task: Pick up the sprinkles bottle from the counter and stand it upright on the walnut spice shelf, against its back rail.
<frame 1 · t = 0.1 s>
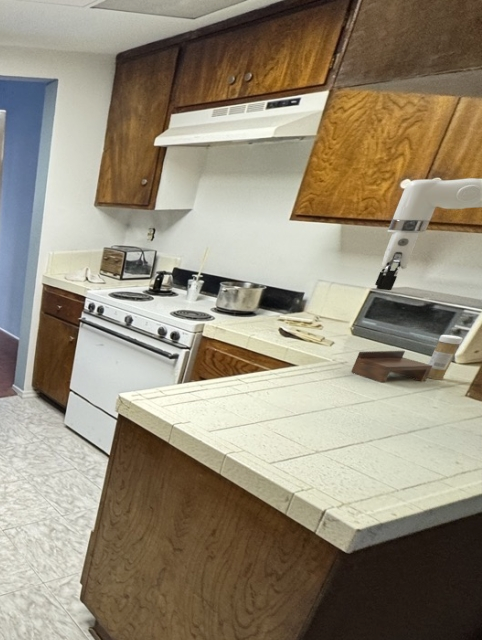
hand: (382, 287, 139), 27 cm above the counter, tool pointing down, fingers open, 9 cm apart
sprinkles bottle: (431, 378, 147), on the counter
spice shelf: (387, 376, 147), on the counter
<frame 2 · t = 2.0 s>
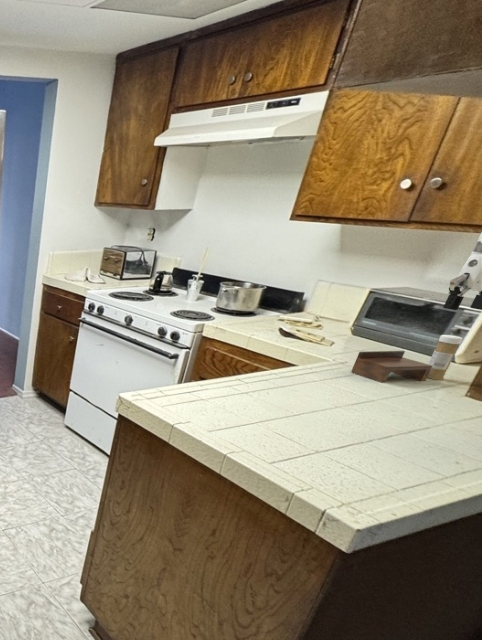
hand: (463, 309, 139), 22 cm above the counter, tool pointing down, fingers open, 9 cm apart
nothing on the counter moved.
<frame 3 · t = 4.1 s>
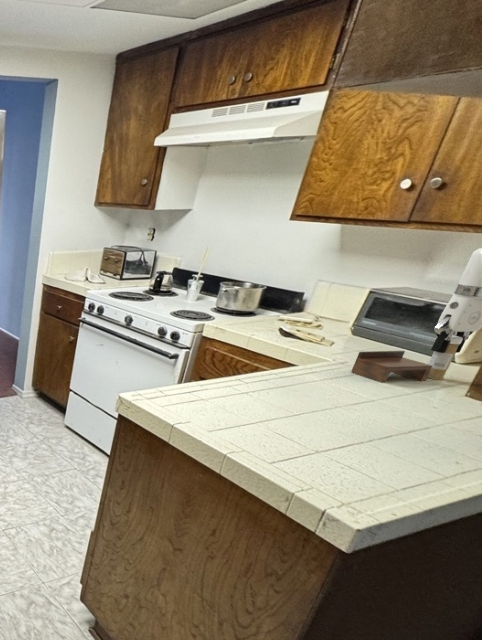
hand: (445, 350, 144), 9 cm above the counter, tool pointing down, fingers closed on sprinkles bottle, 4 cm apart
sprinkles bottle: (431, 378, 147), on the counter, touching gripper
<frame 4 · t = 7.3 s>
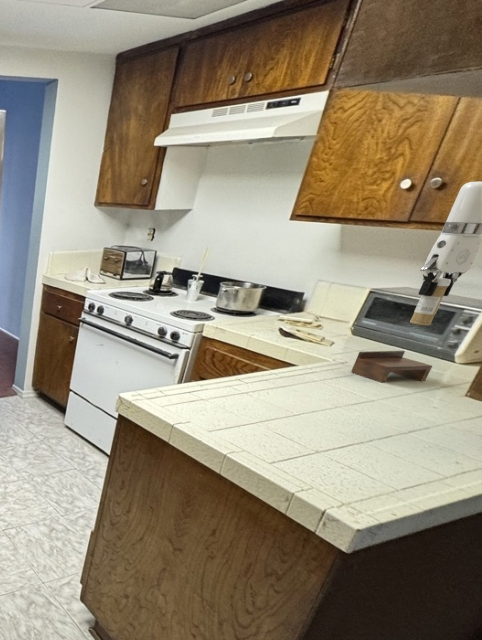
hand: (432, 294, 137), 26 cm above the counter, tool pointing down, fingers closed on sprinkles bottle, 4 cm apart
sprinkles bottle: (419, 324, 141), point 17 cm above the counter, touching gripper
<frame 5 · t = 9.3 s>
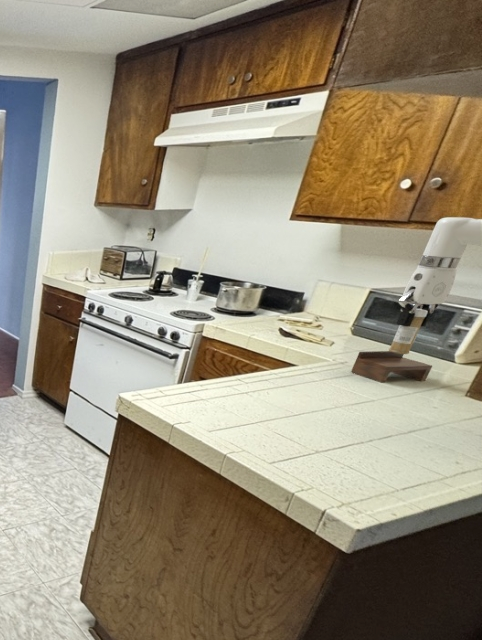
hand: (410, 324, 141), 17 cm above the counter, tool pointing down, fingers closed on sprinkles bottle, 4 cm apart
sprinkles bottle: (397, 353, 144), point 8 cm above the counter, touching gripper
when the fingers open (14 cm above the counter, at t = 10.5 s): sprinkles bottle stays where it is, resting on spice shelf.
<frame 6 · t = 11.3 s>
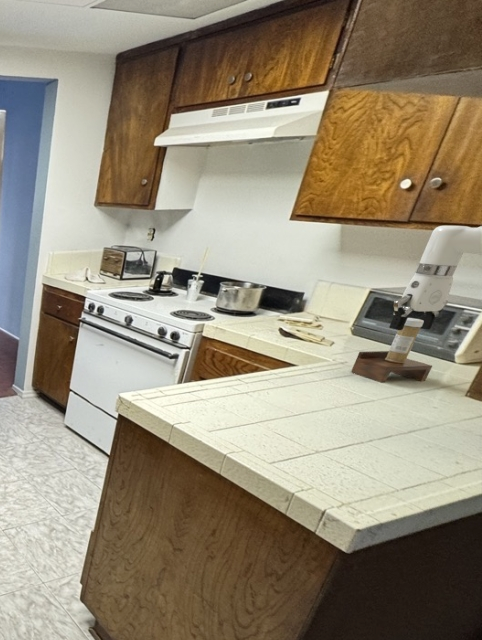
hand: (409, 328, 141), 15 cm above the counter, tool pointing down, fingers open, 9 cm apart
sprinkles bottle: (394, 362, 145), point 5 cm above the counter, touching spice shelf
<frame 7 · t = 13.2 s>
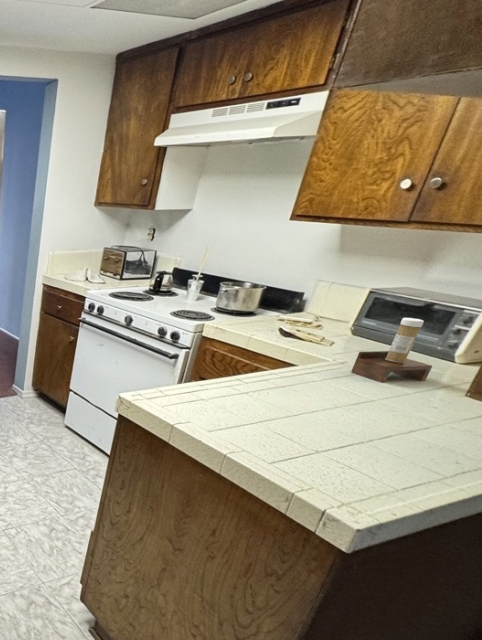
nothing on the counter moved.
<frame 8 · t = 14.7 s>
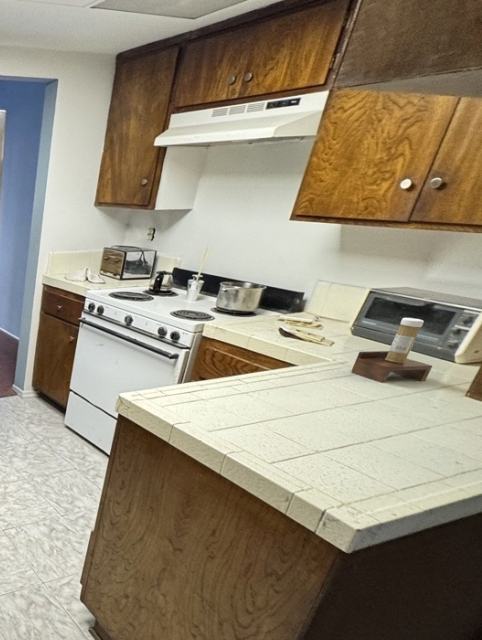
nothing on the counter moved.
at the end: sprinkles bottle inside the target area on the spice shelf (0.2 cm from its centre), point 4.8 cm above the spice shelf's base; sprinkles bottle tilted 0°; the gripper is holding nothing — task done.
